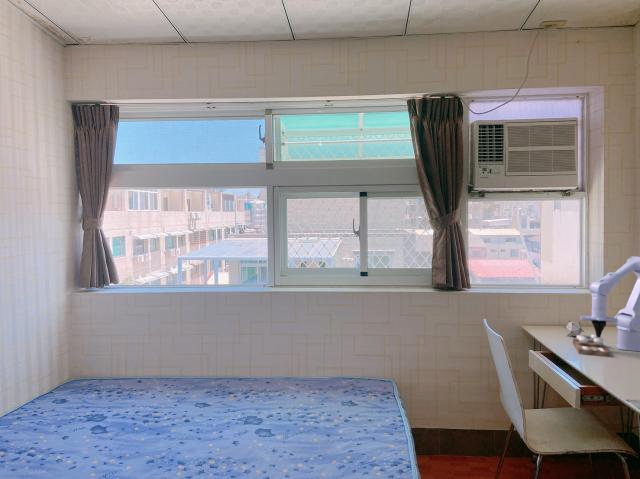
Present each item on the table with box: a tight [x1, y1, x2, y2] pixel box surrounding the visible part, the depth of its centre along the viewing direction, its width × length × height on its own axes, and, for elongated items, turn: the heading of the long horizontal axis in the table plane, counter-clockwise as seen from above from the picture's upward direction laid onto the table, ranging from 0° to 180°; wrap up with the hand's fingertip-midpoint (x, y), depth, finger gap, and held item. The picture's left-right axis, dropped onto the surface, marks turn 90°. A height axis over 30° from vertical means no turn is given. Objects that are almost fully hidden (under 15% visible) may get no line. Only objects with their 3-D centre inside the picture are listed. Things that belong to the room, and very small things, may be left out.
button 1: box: [579, 336, 589, 343], centre depth 206 cm, size 4×4×2 cm
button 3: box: [594, 337, 604, 344], centre depth 204 cm, size 4×4×2 cm
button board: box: [572, 338, 611, 358], centre depth 206 cm, size 12×19×2 cm, turn 157°
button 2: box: [590, 333, 601, 340], centre depth 210 cm, size 4×4×2 cm
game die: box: [564, 320, 585, 337], centre depth 227 cm, size 9×8×10 cm
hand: (598, 336), depth 204 cm, fingers closed
